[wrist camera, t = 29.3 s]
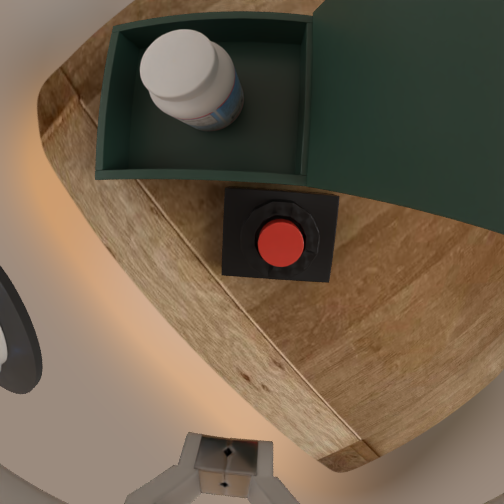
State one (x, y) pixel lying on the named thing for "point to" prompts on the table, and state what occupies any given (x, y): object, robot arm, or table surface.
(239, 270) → the control block
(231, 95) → the pill bottle
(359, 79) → the box lid
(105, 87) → the box
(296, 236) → the button
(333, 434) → the table surface
